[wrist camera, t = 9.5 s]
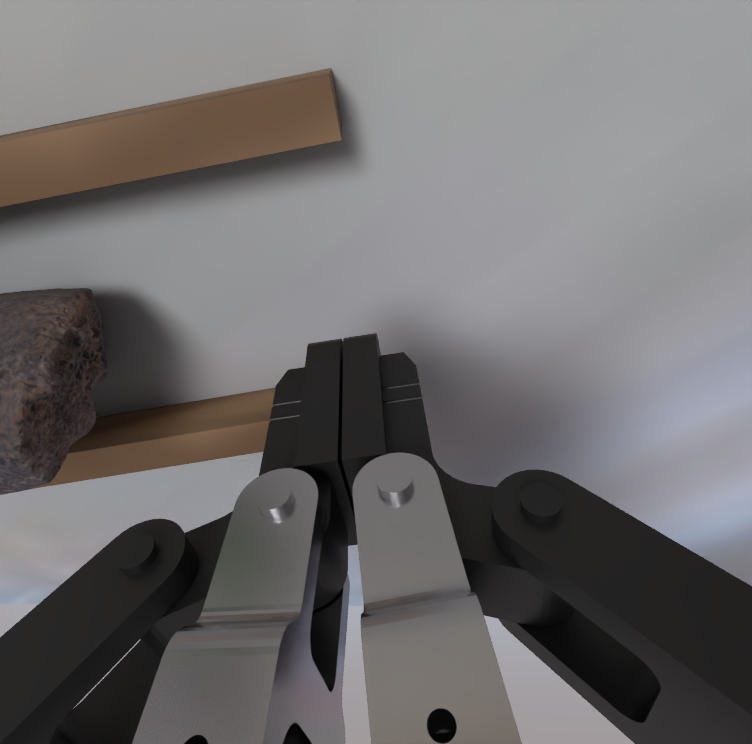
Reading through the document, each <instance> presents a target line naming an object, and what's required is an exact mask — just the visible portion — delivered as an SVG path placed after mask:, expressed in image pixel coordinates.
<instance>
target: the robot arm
mask: <svg viewBox="0 0 752 744" xmlns="http://www.w3.org/2000/svg"><path fill="white" fill-rule="evenodd" d="M357 544H358V551H359V561H360V571H361V581H362V590H363V601H364V612H363V613H362V614H361V637H362V649H363V659H364V670H365V681H366V692H367V703H368V714H369V725H370V735H371V744H522V743H521V739H520V736H519V732H518V729H517V726H516V722H515V719H514V716H513V713H512V709H511V706H510V702H509V699H508V696H507V692H506V689H505V685H504V682H503V679H502V676H501V672H500V669H499V665H498V662H497V658H496V655H495V652H494V648H493V645H492V642H491V638H490V635H489V632H488V629H487V625H486V621H485V618H484V615H485V616H490V617H494V618H498V619H499V620H500V622H501V623H502V625H503V626H504V627H505V628H506V629H507V630H508V631H509V632H510V633H511V634H513V635H514V636H515V637H516V638H517V639H518V640H519V641H520V642H522V643H523V644H524V645H525V646H526V647H527V648H528V649H529V650H531V651H532V652H533V653H534V654H535V655H536V656H537V657H538V658H540V659H541V660H542V661H543V662H544V663H545V664H546V665H547V666H549V667H550V668H551V669H552V670H553V671H554V672H555V673H556V674H557V675H559V676H560V677H561V678H562V679H563V680H564V681H565V682H567V683H568V684H569V685H570V686H571V687H572V688H573V689H574V690H576V691H577V692H578V693H579V694H580V695H581V696H582V697H583V698H584V699H586V700H587V701H588V702H589V703H590V704H591V705H592V706H593V707H595V708H596V709H597V710H598V711H599V712H600V713H601V714H602V715H604V716H605V717H606V718H607V719H608V720H609V721H610V722H611V723H612V724H614V725H615V726H616V727H617V728H618V729H619V730H620V731H621V732H623V733H624V734H625V735H626V736H627V737H628V738H629V739H631V741H633V742H634V743H635V744H752V586H750V585H748V584H747V583H745V582H743V581H742V580H740V579H738V578H736V577H735V576H733V575H731V574H730V573H728V572H726V571H725V570H723V569H721V568H719V567H718V566H716V565H714V564H713V563H711V562H709V561H707V560H706V559H704V558H702V557H701V556H699V555H697V554H695V553H694V552H692V551H690V550H689V549H687V548H685V547H684V546H682V545H680V544H678V543H677V542H675V541H673V540H672V539H670V538H668V537H666V536H665V535H663V534H661V533H660V532H658V531H656V530H655V529H653V528H651V527H649V526H648V525H646V524H644V523H643V522H641V521H639V520H637V519H636V518H634V517H632V516H631V515H629V514H627V513H626V512H624V511H622V510H620V509H619V508H617V507H615V506H614V505H612V504H610V503H608V502H607V501H605V500H603V499H602V498H600V497H598V496H597V495H595V494H593V493H591V492H590V491H588V490H586V489H585V488H583V487H581V486H579V485H578V484H576V483H574V482H573V481H571V480H569V479H567V478H565V477H563V476H561V475H559V474H556V473H553V472H549V471H545V470H526V471H520V472H517V473H514V474H512V475H510V476H508V477H507V478H505V479H504V480H503V481H501V483H500V484H499V485H498V486H497V487H489V486H482V485H475V484H470V483H465V482H462V481H459V480H457V479H455V478H453V477H451V476H450V475H448V474H447V473H445V472H444V471H443V470H442V469H441V468H440V467H439V466H438V464H437V463H436V461H435V459H434V457H433V454H432V450H431V444H430V439H429V434H428V428H427V423H426V417H425V412H424V406H423V401H422V396H421V390H420V385H419V379H418V374H417V368H416V365H415V364H414V363H413V362H412V361H411V360H410V359H409V358H408V356H407V355H406V354H405V353H404V352H402V353H396V354H389V355H382V356H381V353H380V348H379V342H378V337H377V333H375V334H368V335H362V336H355V337H349V338H344V340H343V341H342V339H337V340H330V341H323V342H317V343H310V344H308V347H307V356H306V364H305V367H304V368H297V369H291V370H288V371H287V372H286V373H285V375H284V376H283V377H282V379H281V380H280V381H279V383H278V384H277V385H276V388H275V393H274V399H273V407H272V409H271V415H270V422H269V426H268V431H267V436H266V442H265V447H264V452H263V458H262V463H261V468H260V474H259V477H257V478H256V479H254V480H253V481H252V482H250V483H249V484H248V485H247V486H246V487H245V488H244V490H243V491H242V492H241V493H240V495H239V497H238V499H237V501H236V503H235V506H234V510H233V511H232V512H231V513H229V514H227V515H226V516H224V517H222V518H219V519H217V520H215V521H212V522H210V523H208V524H205V525H203V526H201V527H198V528H196V529H193V530H191V531H189V532H186V533H184V532H183V530H182V529H181V527H180V526H179V525H178V524H177V523H175V522H173V521H170V520H167V519H152V520H148V521H144V522H141V523H139V524H136V525H134V526H132V527H130V528H129V529H127V530H126V531H124V532H122V533H121V534H120V535H119V536H117V537H116V538H115V539H114V540H113V541H111V542H110V543H109V544H108V545H107V546H106V547H104V548H103V549H102V550H101V551H100V552H99V553H97V554H96V555H95V556H94V557H93V558H92V559H91V560H89V561H88V562H87V563H86V564H85V565H84V566H82V567H81V568H80V569H79V570H78V571H77V572H75V573H74V574H73V575H72V576H71V577H70V578H69V579H67V580H66V581H65V582H64V583H63V584H62V585H60V586H59V587H58V588H57V589H56V590H55V591H54V592H52V593H51V594H50V595H49V596H48V597H47V598H45V599H44V600H43V601H42V602H41V603H40V604H38V605H37V606H36V607H35V608H34V609H33V610H32V611H31V612H29V613H28V614H27V615H26V616H25V617H23V618H22V619H21V620H20V621H19V622H18V623H16V624H15V625H14V626H13V627H12V628H11V629H10V630H9V631H7V632H6V633H5V634H4V635H3V636H2V637H1V638H0V744H345V725H344V717H343V709H342V684H343V671H344V657H345V644H346V631H347V617H348V604H349V591H350V582H349V577H348V574H347V572H348V546H349V545H357ZM140 639H141V640H140ZM138 640H140V641H139V643H138V644H137V645H136V646H135V647H134V648H133V649H132V650H131V651H130V652H129V653H128V654H127V655H126V656H125V657H124V658H123V659H122V660H121V661H120V662H119V663H118V664H117V665H116V666H115V667H114V668H113V669H112V671H111V672H110V673H109V674H108V675H107V676H106V677H105V678H104V679H103V680H102V681H101V682H100V683H99V684H98V685H97V686H96V687H95V688H94V689H93V690H92V691H91V692H90V693H89V694H88V696H87V697H86V698H85V699H84V700H83V701H82V702H81V703H80V704H79V705H77V704H78V703H79V702H80V701H81V700H82V698H84V696H85V695H86V694H87V693H88V692H89V691H90V690H91V689H92V688H93V687H94V686H95V685H96V684H97V683H98V682H99V681H100V680H101V679H102V678H103V677H104V676H105V675H106V674H107V673H108V672H109V671H110V670H111V668H112V667H113V666H114V665H115V664H116V663H117V662H118V661H119V660H120V659H121V658H122V657H123V656H124V655H125V654H126V653H127V652H128V651H129V650H130V649H131V648H132V647H133V646H134V645H135V644H136V642H138ZM76 705H77V706H76ZM75 706H76V707H75ZM74 707H75V708H74ZM73 708H74V709H73Z"/></svg>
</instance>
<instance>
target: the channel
mask: <svg viewBox="0 0 752 744" xmlns="http://www.w3.org/2000/svg"><path fill="white" fill-rule="evenodd" d="M340 140H342V124H341V119H340V114H339V109H338V103H337V98H336V93H335V88H334V82H333V77H332V72H331V68H329V69H324V70H320V71H315V72H310V73H305V74H300V75H295V76H290V77H285V78H280V79H276V80H271V81H266V82H261V83H256V84H251V85H246V86H241V87H236V88H232V89H227V90H222V91H217V92H212V93H207V94H202V95H197V96H192V97H187V98H183V99H178V100H173V101H168V102H163V103H158V104H153V105H148V106H143V107H139V108H134V109H129V110H124V111H119V112H114V113H109V114H104V115H99V116H94V117H90V118H85V119H80V120H75V121H70V122H65V123H60V124H55V125H50V126H46V127H41V128H36V129H31V130H26V131H21V132H16V133H11V134H6V135H2V136H0V207H3V206H8V205H13V204H18V203H23V202H28V201H34V200H39V199H44V198H49V197H54V196H59V195H64V194H69V193H74V192H80V191H85V190H90V189H95V188H100V187H105V186H110V185H115V184H120V183H126V182H131V181H136V180H141V179H146V178H151V177H156V176H161V175H166V174H172V173H177V172H182V171H187V170H192V169H197V168H202V167H207V166H212V165H217V164H223V163H228V162H233V161H238V160H243V159H248V158H253V157H258V156H263V155H269V154H274V153H279V152H284V151H289V150H294V149H299V148H304V147H309V146H315V145H320V144H325V143H330V142H335V141H340ZM274 393H275V388H273V389H267V390H261V391H255V392H249V393H243V394H237V395H231V396H225V397H219V398H213V399H207V400H202V401H196V402H190V403H184V404H178V405H172V406H166V407H160V408H154V409H148V410H142V411H136V412H130V413H124V414H118V415H112V416H106V417H100V418H96V422H95V424H94V426H93V427H92V429H91V430H90V431H89V432H88V433H87V434H86V435H85V436H83V437H81V438H79V439H77V441H76V442H75V443H73V444H72V445H71V446H70V448H69V451H68V454H67V457H66V459H65V461H64V462H63V464H62V466H61V468H60V470H59V472H58V473H57V475H56V476H55V478H54V479H53V480H52V481H51V482H50V483H48V484H45V485H41V486H35V487H34V488H39V487H45V486H52V485H58V484H64V483H70V482H76V481H83V480H89V479H95V478H101V477H108V476H114V475H120V474H126V473H133V472H139V471H145V470H151V469H157V468H164V467H170V466H176V465H182V464H189V463H195V462H201V461H207V460H213V459H220V458H226V457H232V456H238V455H245V454H251V453H257V452H263V451H264V447H265V442H266V436H267V431H268V426H269V422H270V415H271V409H272V407H273V399H274ZM32 489H33V488H32Z"/></svg>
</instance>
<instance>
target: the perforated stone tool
mask: <svg viewBox="0 0 752 744" xmlns="http://www.w3.org/2000/svg"><path fill="white" fill-rule="evenodd" d="M106 371H107V359H106V355H105V347H104V341H103V330H102V321H101V317H100V312H99V310H98V306H97V304H96V301H95V299H94V297H93V293H92V290H90V289H87V288H80V289H48V290H34V291H22V292H13V293H3V294H0V495H1V494H7V493H13V492H18V491H23V490H28V489H32V488H34V487H35V486H41V485H45V484H48V483H50V482H51V481H52V480H53V479H54V478H55V476H56V475H57V473H58V472H59V470H60V468H61V466H62V464H63V462H64V461H65V459H66V457H67V454H68V451H69V448H70V446H71V445H72V444H73V443H75V442H76V441H77V439H79V438H81V437H83V436H85V435H86V434H87V433H88V432H89V431H90V430H91V429H92V427H93V426H94V424H95V422H96V409H95V405H94V403H93V401H92V392H93V390H94V388H95V387H96V386H97V385H98V384H99V382H100V381H101V380H102V379H103V378H104V377H105V376H106Z"/></svg>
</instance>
